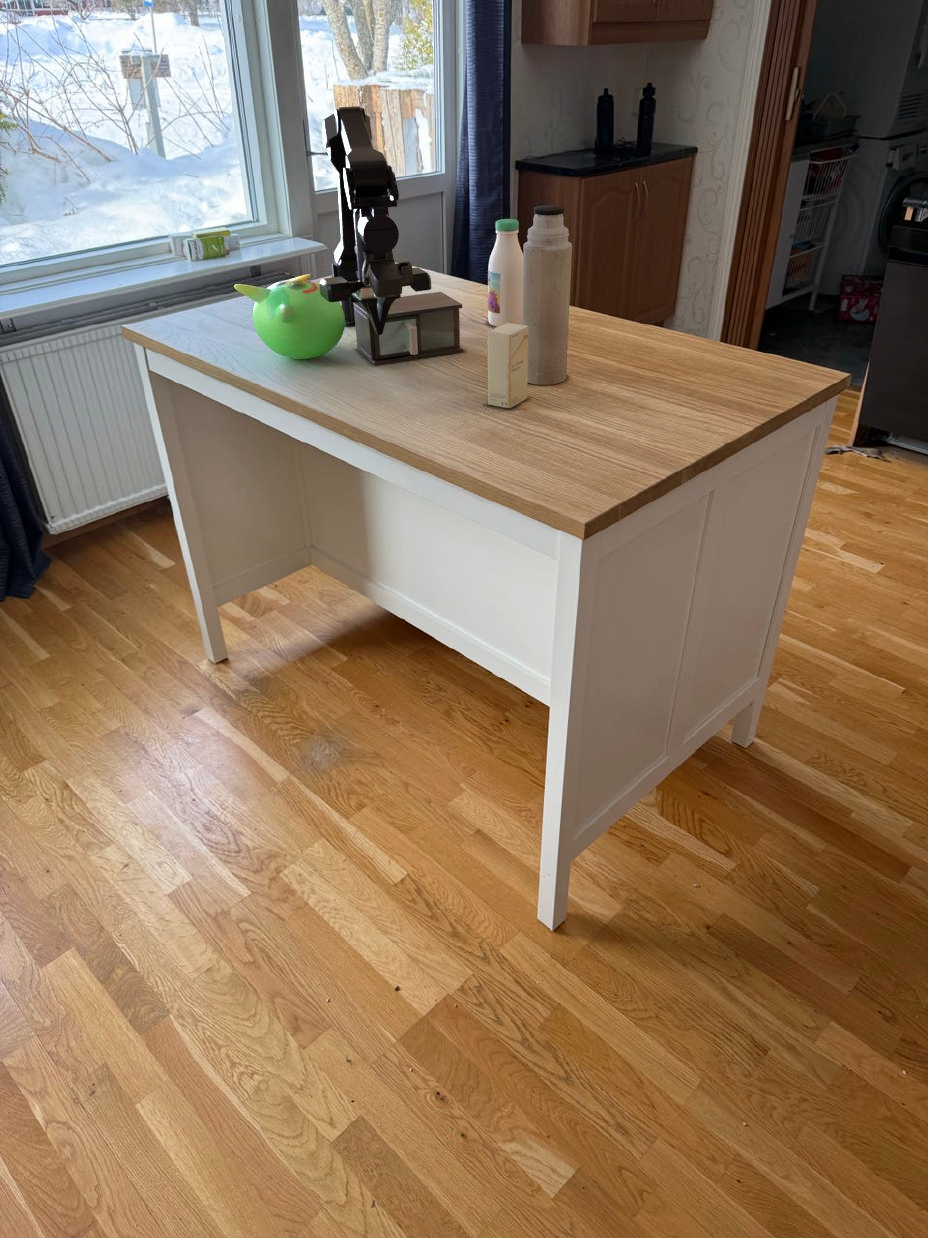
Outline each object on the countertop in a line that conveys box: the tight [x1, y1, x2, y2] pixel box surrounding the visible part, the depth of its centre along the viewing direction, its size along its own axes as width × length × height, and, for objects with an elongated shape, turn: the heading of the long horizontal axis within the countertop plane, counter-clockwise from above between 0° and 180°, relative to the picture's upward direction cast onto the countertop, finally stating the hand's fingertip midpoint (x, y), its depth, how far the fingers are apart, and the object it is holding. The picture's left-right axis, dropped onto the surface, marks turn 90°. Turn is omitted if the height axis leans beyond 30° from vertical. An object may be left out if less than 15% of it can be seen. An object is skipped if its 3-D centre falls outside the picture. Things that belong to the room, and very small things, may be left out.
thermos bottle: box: [521, 204, 573, 386], centre depth 152 cm, size 8×8×28 cm
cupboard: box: [353, 291, 464, 366], centre depth 171 cm, size 11×18×9 cm, turn 113°
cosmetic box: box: [487, 323, 528, 409], centre depth 146 cm, size 6×4×12 cm
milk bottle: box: [487, 218, 523, 327], centre depth 183 cm, size 8×8×20 cm
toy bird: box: [233, 273, 346, 360], centre depth 168 cm, size 18×17×15 cm
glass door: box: [373, 314, 422, 359], centre depth 164 cm, size 6×9×7 cm, turn 113°
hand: (379, 334), depth 160 cm, fingers closed
